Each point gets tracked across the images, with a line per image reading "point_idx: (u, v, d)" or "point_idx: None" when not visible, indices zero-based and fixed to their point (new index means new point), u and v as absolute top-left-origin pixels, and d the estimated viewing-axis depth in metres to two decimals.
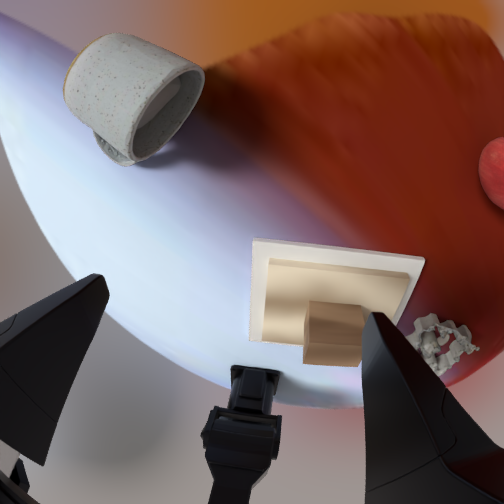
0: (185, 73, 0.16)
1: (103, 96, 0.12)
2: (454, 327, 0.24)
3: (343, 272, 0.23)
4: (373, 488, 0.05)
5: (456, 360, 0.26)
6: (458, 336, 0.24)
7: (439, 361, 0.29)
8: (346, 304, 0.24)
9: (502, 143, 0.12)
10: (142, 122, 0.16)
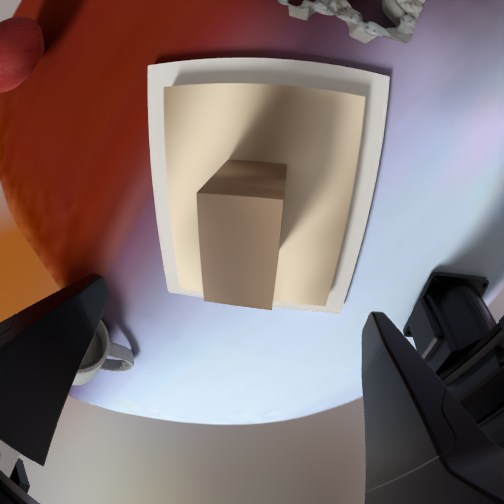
0: None
1: None
2: None
3: (169, 200, 0.15)
4: (374, 488, 0.05)
5: None
6: None
7: None
8: None
9: None
10: None
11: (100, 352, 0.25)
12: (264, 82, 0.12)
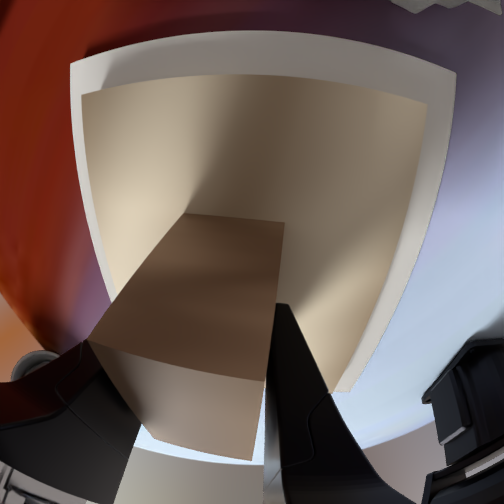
0: (37, 358, 0.19)
1: None
2: None
3: (110, 267, 0.10)
4: (265, 489, 0.05)
5: None
6: None
7: None
8: None
9: None
10: None
11: None
12: (244, 72, 0.07)
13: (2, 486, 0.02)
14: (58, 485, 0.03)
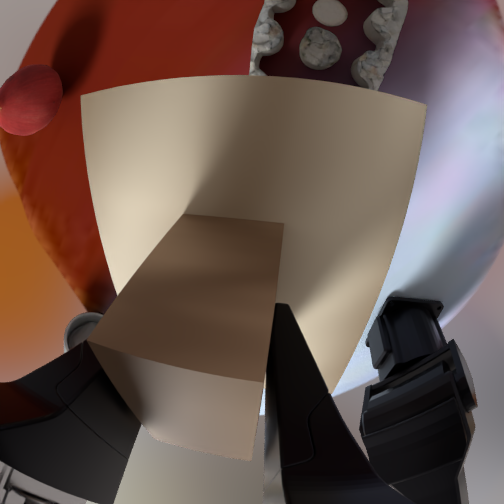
0: (85, 319, 0.29)
1: None
2: (269, 13, 0.11)
3: (110, 267, 0.10)
4: (265, 489, 0.05)
5: None
6: (270, 4, 0.10)
7: (385, 0, 0.10)
8: None
9: None
10: None
11: None
12: None
13: (2, 486, 0.02)
14: (58, 485, 0.03)
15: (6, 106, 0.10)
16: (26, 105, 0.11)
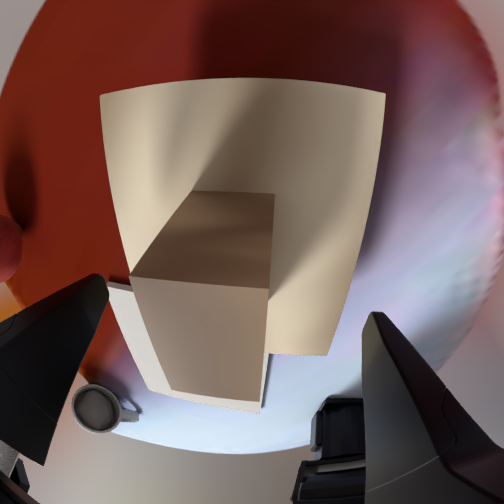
0: (86, 388, 0.32)
1: (85, 429, 0.28)
2: None
3: (124, 244, 0.11)
4: (373, 488, 0.05)
5: None
6: None
7: None
8: None
9: None
10: (103, 415, 0.30)
11: (114, 413, 0.33)
12: None
13: None
14: None
15: None
16: None
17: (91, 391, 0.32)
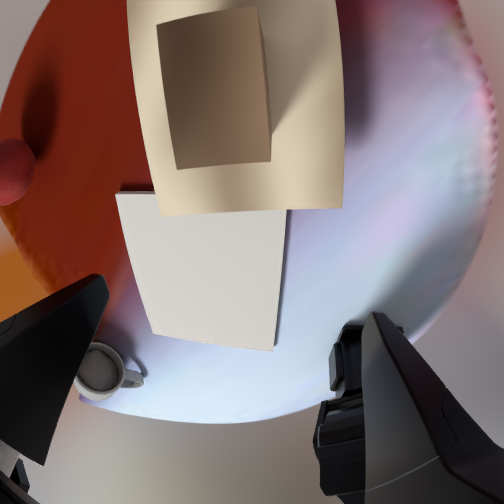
0: (89, 348, 0.32)
1: (85, 393, 0.29)
2: None
3: (138, 105, 0.12)
4: (373, 488, 0.05)
5: None
6: None
7: None
8: None
9: None
10: (106, 376, 0.31)
11: (117, 376, 0.33)
12: None
13: None
14: None
15: None
16: (2, 184, 0.14)
17: (93, 351, 0.32)
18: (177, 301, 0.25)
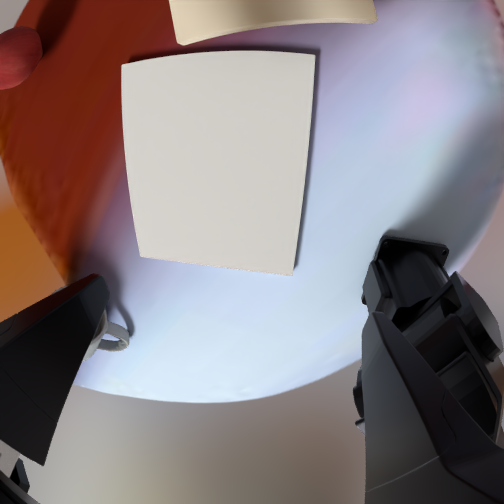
0: None
1: None
2: None
3: None
4: (374, 488, 0.05)
5: None
6: None
7: None
8: None
9: None
10: None
11: (98, 331, 0.28)
12: (208, 71, 0.14)
13: None
14: None
15: None
16: (6, 57, 0.09)
17: None
18: (174, 198, 0.19)
